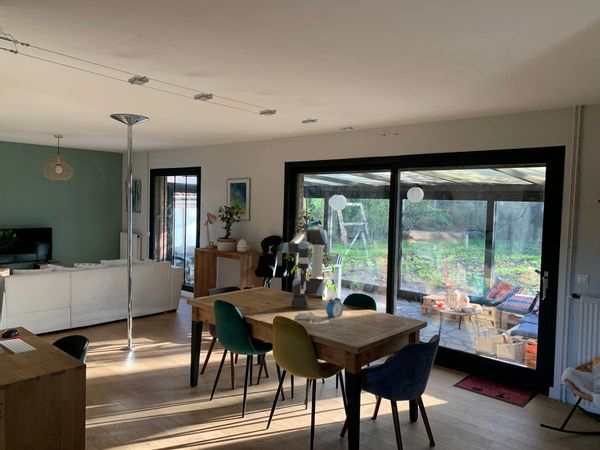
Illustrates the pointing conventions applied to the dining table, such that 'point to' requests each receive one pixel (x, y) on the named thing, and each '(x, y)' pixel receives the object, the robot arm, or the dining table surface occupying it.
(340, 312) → the alarm clock
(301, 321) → the tuner board
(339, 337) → the dining table surface
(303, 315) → the dial
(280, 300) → the dining table surface
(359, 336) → the dining table surface
